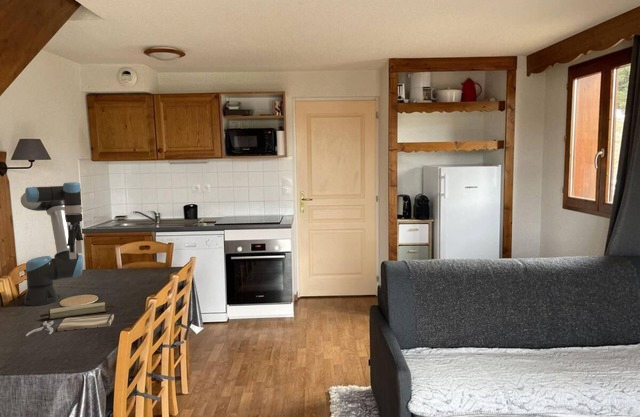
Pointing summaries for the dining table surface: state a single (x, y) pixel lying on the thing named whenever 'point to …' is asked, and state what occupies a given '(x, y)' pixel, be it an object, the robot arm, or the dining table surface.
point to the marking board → (86, 322)
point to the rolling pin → (77, 310)
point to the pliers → (43, 327)
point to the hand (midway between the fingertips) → (76, 256)
